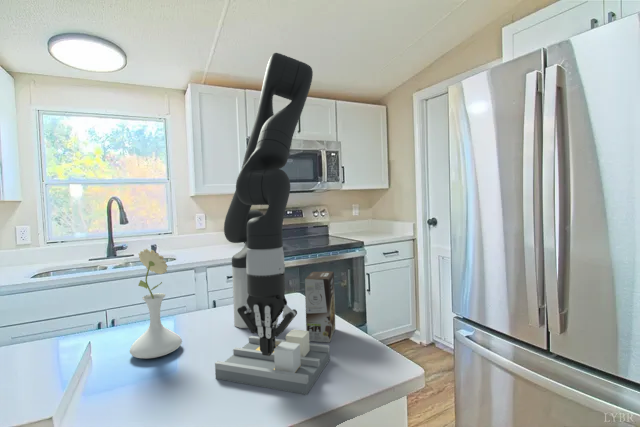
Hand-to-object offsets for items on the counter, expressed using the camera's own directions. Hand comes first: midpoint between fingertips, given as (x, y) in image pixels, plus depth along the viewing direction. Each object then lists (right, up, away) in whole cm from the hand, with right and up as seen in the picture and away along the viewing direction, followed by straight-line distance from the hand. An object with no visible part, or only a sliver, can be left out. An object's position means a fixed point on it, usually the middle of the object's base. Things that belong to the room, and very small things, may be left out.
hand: (268, 353), depth 68 cm
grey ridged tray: (+1, -5, +4) cm, 6 cm away
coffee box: (+11, -4, +21) cm, 24 cm away
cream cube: (+6, -2, +5) cm, 8 cm away
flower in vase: (-30, -5, +14) cm, 33 cm away
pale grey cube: (+4, -2, -1) cm, 5 cm away
